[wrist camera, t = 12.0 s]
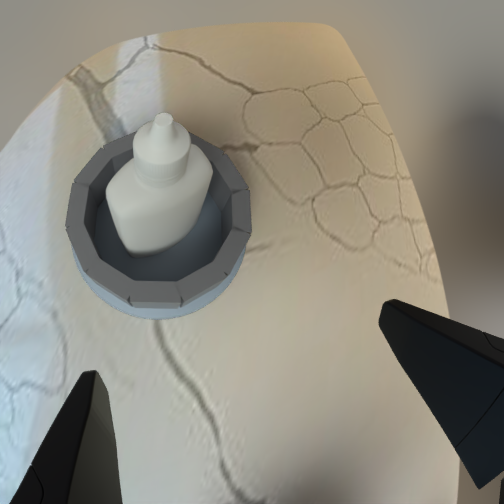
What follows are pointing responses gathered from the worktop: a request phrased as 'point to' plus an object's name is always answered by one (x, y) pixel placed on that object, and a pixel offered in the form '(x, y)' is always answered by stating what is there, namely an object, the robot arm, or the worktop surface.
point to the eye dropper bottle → (159, 188)
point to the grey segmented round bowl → (170, 261)
